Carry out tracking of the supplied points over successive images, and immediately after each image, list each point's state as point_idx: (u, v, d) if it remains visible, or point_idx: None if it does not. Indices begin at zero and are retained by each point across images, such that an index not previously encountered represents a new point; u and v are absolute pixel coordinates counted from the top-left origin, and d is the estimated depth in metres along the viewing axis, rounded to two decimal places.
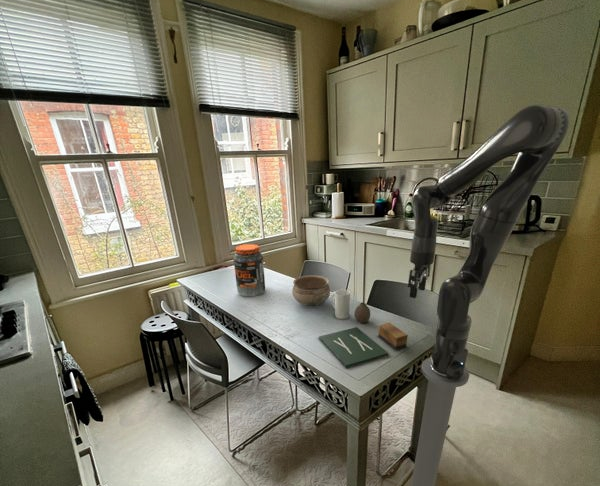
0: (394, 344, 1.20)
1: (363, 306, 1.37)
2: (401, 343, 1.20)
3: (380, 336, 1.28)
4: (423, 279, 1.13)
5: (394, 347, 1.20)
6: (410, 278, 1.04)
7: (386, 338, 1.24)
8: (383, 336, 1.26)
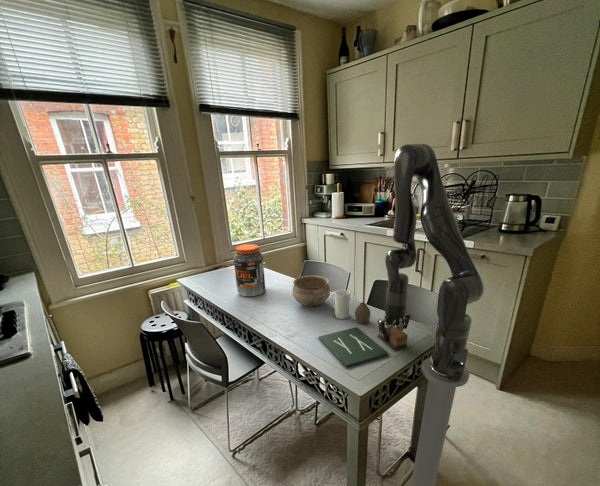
0: (394, 344, 1.20)
1: (363, 306, 1.37)
2: (401, 343, 1.20)
3: (380, 336, 1.28)
4: None
5: (394, 347, 1.20)
6: (379, 326, 1.20)
7: None
8: None
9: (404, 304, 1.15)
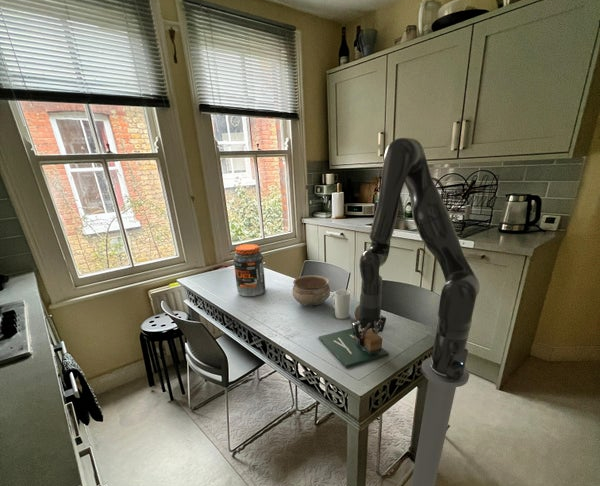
0: (368, 348, 1.14)
1: None
2: (375, 347, 1.14)
3: (355, 339, 1.22)
4: None
5: (368, 351, 1.15)
6: (353, 329, 1.15)
7: None
8: None
9: (378, 306, 1.10)
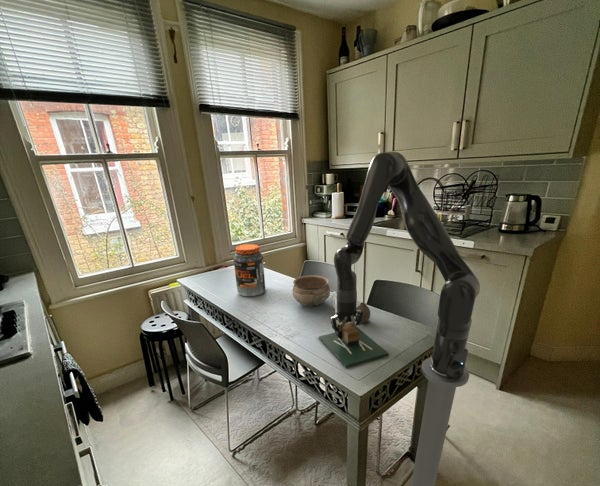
0: (346, 340, 1.22)
1: (363, 306, 1.37)
2: (353, 339, 1.21)
3: (336, 332, 1.30)
4: None
5: (346, 343, 1.22)
6: (331, 322, 1.23)
7: None
8: None
9: (353, 301, 1.17)
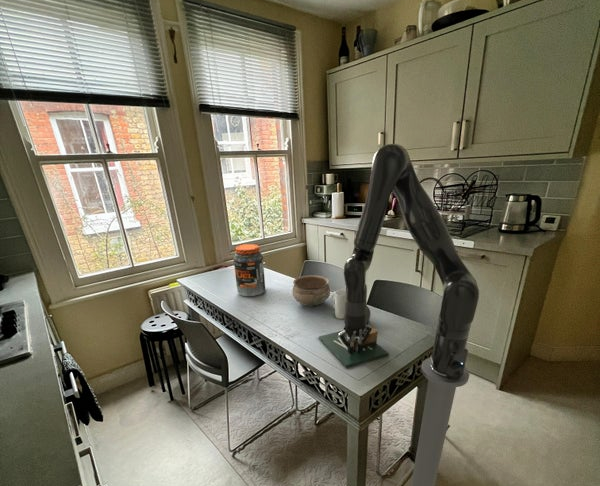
0: None
1: None
2: None
3: None
4: (357, 343, 1.15)
5: None
6: None
7: None
8: None
9: (363, 314, 1.07)
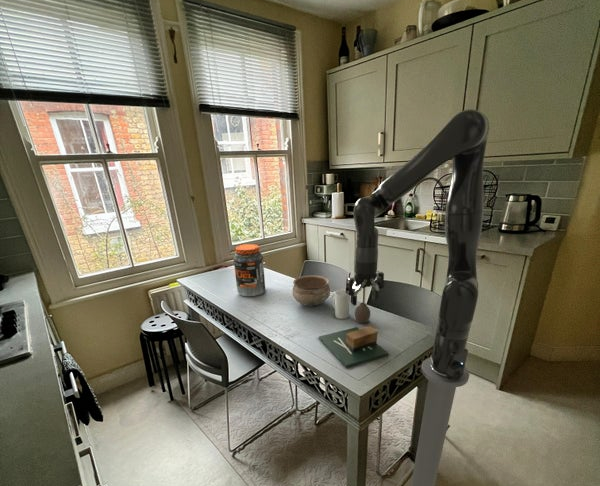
0: None
1: (363, 306, 1.37)
2: (349, 343, 1.19)
3: None
4: (374, 289, 1.12)
5: None
6: (346, 285, 1.08)
7: None
8: None
9: (374, 261, 1.03)
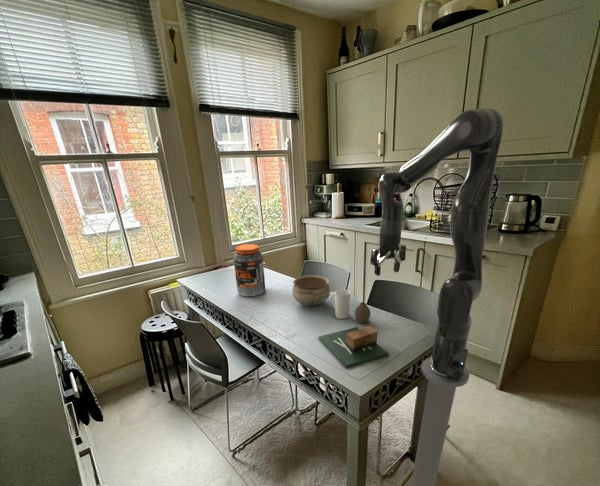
0: None
1: (363, 306, 1.37)
2: (349, 343, 1.19)
3: None
4: (396, 261, 1.21)
5: None
6: (371, 256, 1.16)
7: None
8: None
9: (399, 233, 1.12)
